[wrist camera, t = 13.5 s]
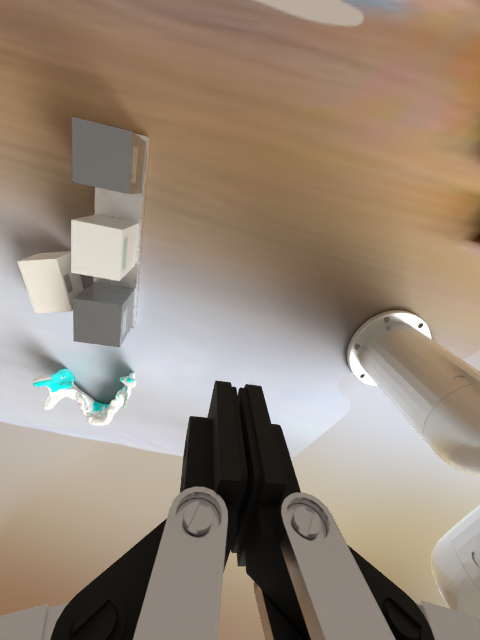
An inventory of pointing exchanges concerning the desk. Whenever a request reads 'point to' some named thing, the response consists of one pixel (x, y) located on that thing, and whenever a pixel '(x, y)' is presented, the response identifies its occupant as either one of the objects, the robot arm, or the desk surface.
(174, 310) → the desk surface
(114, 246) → the block
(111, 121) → the desk surface
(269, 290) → the desk surface
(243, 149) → the desk surface
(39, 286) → the block
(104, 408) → the jawbone
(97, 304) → the rail
